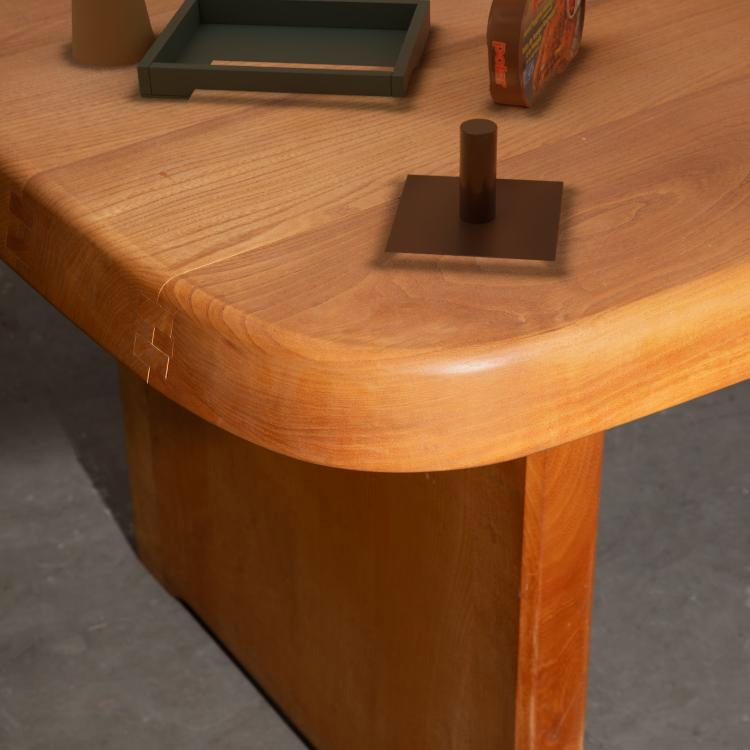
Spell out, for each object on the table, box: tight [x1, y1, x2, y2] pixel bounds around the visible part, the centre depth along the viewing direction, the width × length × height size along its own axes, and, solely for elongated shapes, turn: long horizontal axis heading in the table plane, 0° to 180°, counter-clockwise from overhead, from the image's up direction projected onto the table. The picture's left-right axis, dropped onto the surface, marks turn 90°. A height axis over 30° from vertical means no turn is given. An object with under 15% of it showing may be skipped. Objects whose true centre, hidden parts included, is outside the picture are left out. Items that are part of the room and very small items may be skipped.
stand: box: [384, 118, 565, 262], centre depth 79 cm, size 9×9×6 cm
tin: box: [485, 0, 587, 109], centre depth 95 cm, size 15×3×8 cm, turn 158°
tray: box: [136, 0, 431, 100], centre depth 100 cm, size 18×14×3 cm
